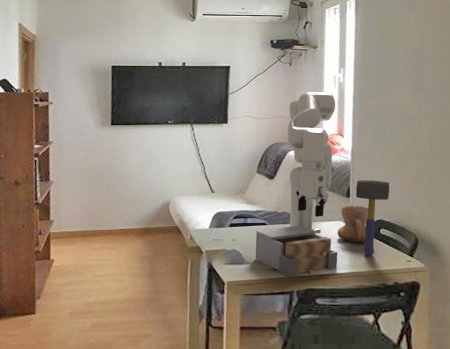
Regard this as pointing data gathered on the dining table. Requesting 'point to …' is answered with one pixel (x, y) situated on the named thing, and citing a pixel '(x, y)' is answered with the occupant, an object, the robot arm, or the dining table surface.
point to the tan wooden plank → (309, 253)
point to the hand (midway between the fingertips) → (310, 213)
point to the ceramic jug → (353, 223)
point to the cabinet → (276, 247)
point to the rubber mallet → (371, 206)
